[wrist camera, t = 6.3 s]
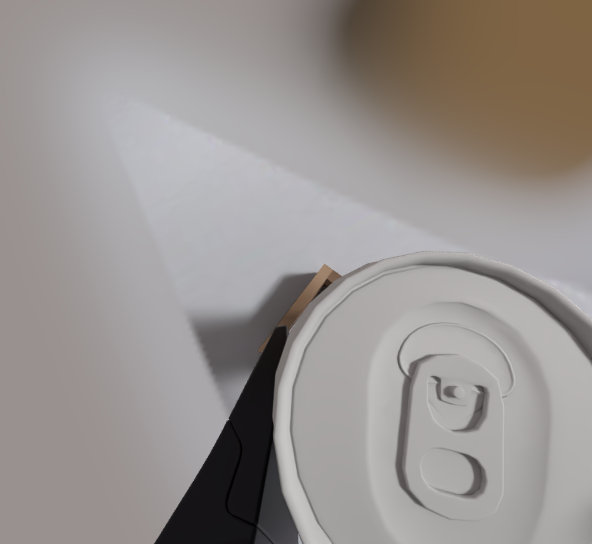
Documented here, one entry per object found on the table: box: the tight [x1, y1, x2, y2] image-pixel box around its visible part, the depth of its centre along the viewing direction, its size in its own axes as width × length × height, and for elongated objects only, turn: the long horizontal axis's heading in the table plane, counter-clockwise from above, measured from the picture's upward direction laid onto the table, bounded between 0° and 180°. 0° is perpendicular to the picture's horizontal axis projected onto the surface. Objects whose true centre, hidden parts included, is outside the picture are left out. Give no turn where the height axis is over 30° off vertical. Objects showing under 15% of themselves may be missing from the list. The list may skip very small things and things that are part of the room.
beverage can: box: [272, 251, 592, 544], centre depth 9 cm, size 5×5×12 cm
